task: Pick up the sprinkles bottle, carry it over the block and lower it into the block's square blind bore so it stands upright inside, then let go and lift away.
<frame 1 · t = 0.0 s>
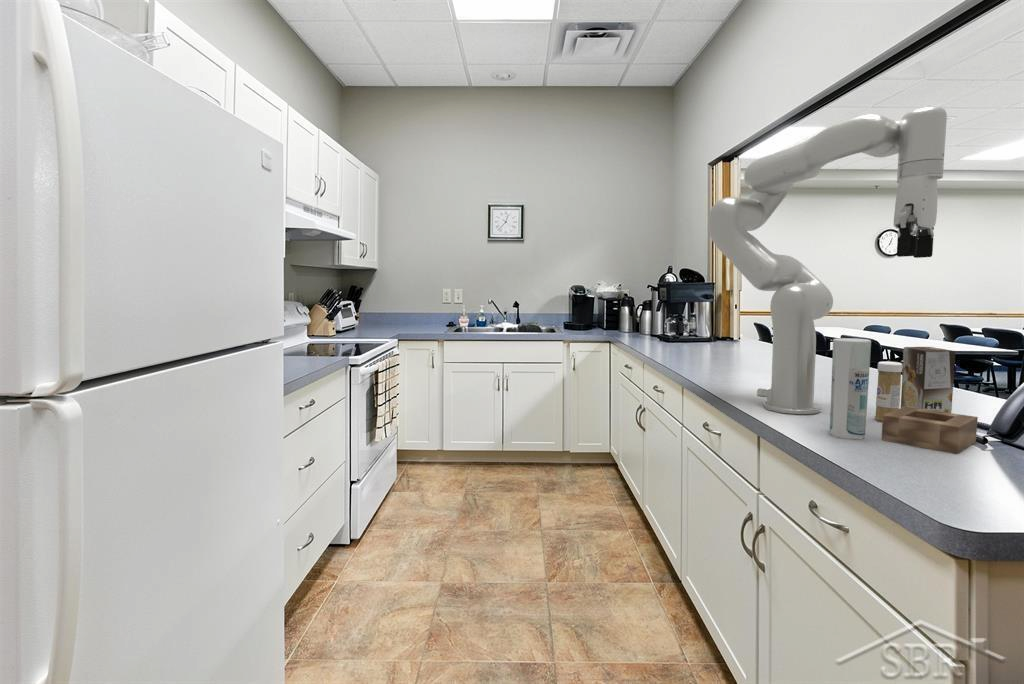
hand: (914, 256, 110), 37 cm above the countertop, tool pointing down, fingers open, 9 cm apart
sprinkles bottle: (886, 421, 120), on the countertop
coffee box: (924, 416, 124), on the countertop
bore block: (928, 440, 105), on the countertop
spray can: (847, 436, 109), on the countertop
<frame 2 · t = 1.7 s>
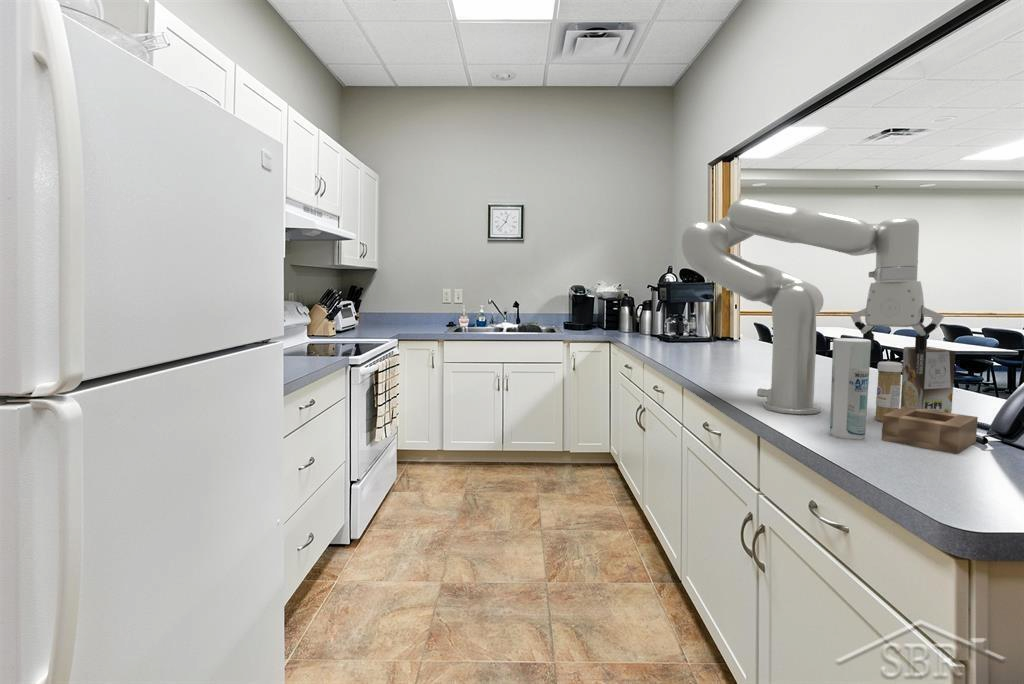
hand: (893, 351, 118), 16 cm above the countertop, tool pointing down, fingers open, 9 cm apart
nothing on the countertop moved.
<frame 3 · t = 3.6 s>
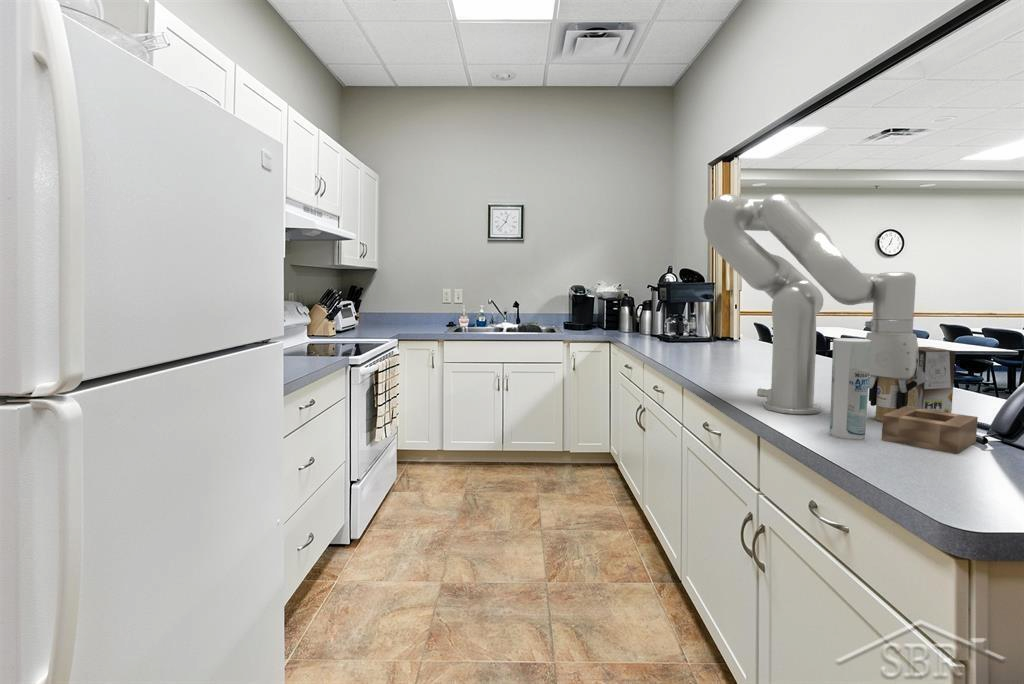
hand: (887, 406, 120), 3 cm above the countertop, tool pointing down, fingers closed on sprinkles bottle, 4 cm apart
sprinkles bottle: (886, 421, 120), on the countertop, touching gripper
everything else where it was.
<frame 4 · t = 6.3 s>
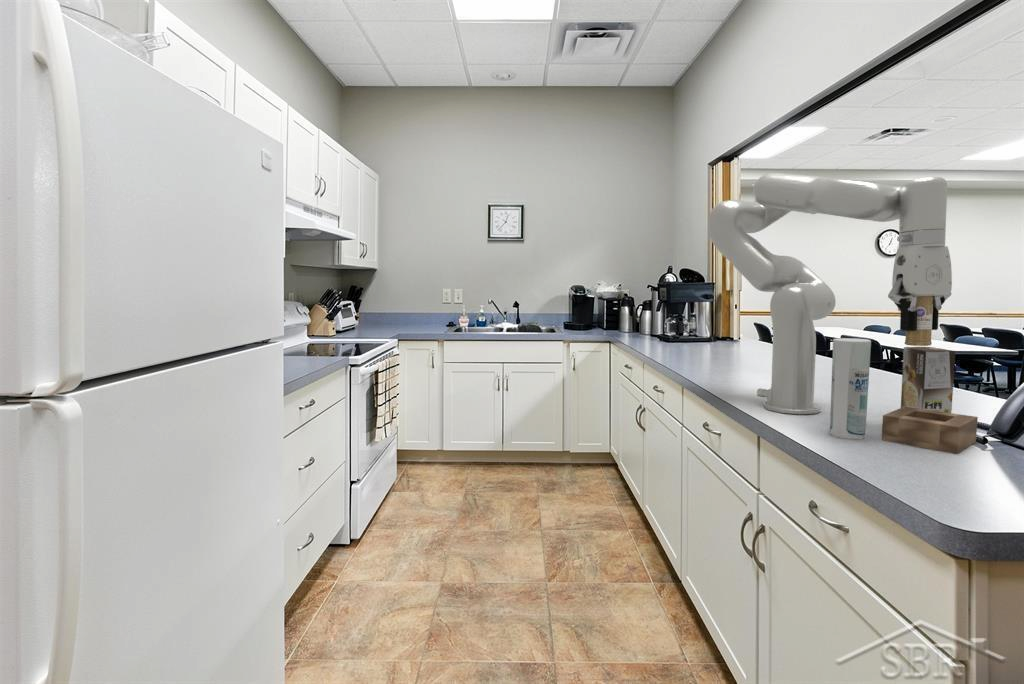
hand: (918, 329, 109), 22 cm above the countertop, tool pointing down, fingers closed on sprinkles bottle, 4 cm apart
sprinkles bottle: (918, 346, 109), point 18 cm above the countertop, touching gripper
everything else where it was.
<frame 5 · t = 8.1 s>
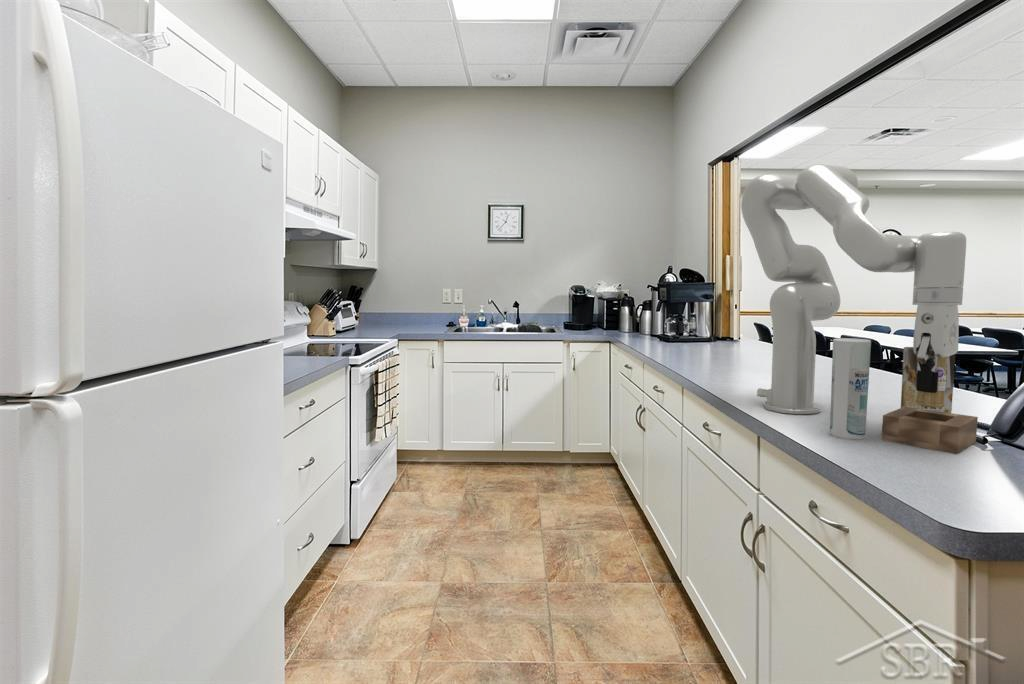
hand: (931, 389, 104), 10 cm above the countertop, tool pointing down, fingers closed on sprinkles bottle, 4 cm apart
sprinkles bottle: (929, 406, 104), point 7 cm above the countertop, touching gripper
everything else where it was.
when the fingers open (6 cm above the countertop, at t = 9.4 s): sprinkles bottle drops 2 cm, resting on bore block.
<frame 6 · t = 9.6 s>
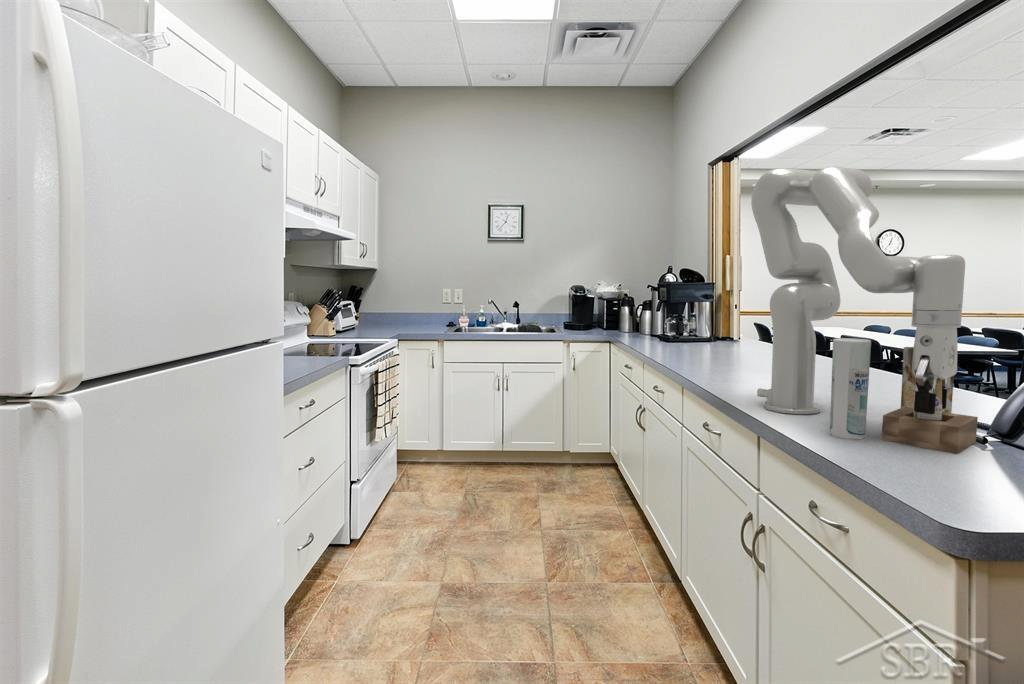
hand: (930, 409, 104), 6 cm above the countertop, tool pointing down, fingers open, 6 cm apart
sprinkles bottle: (927, 435, 105), point 1 cm above the countertop, touching bore block
everything else where it was.
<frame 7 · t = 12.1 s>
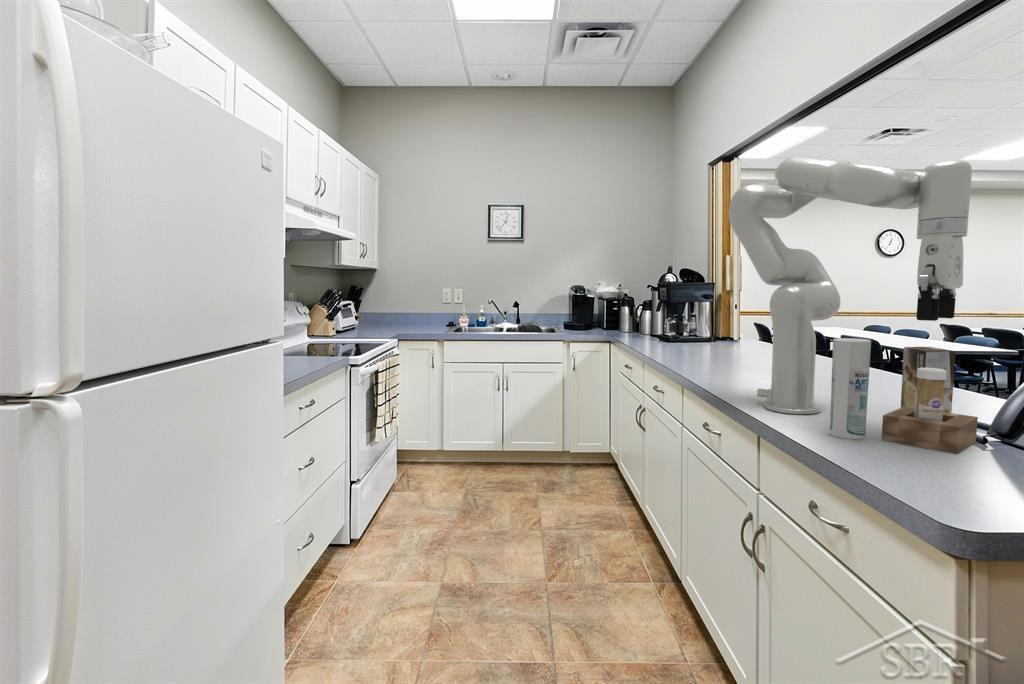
hand: (935, 319, 102), 24 cm above the countertop, tool pointing down, fingers open, 9 cm apart
nothing on the countertop moved.
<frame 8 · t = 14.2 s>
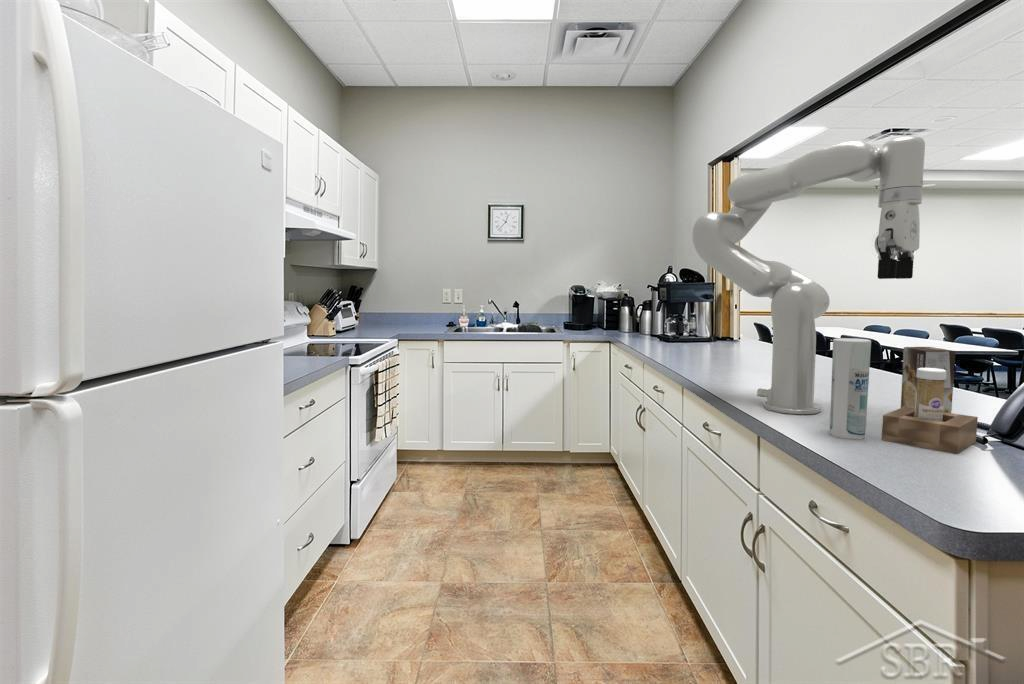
hand: (895, 278, 115), 32 cm above the countertop, tool pointing down, fingers open, 9 cm apart
nothing on the countertop moved.
at the end: sprinkles bottle 0.2 cm off-centre on the bore block, point 0.8 cm above the bore block's base; sprinkles bottle tilted 0°; the gripper is holding nothing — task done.
